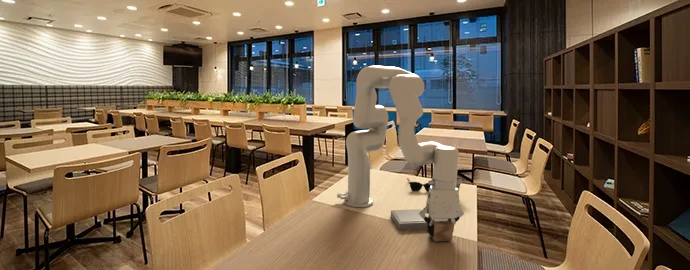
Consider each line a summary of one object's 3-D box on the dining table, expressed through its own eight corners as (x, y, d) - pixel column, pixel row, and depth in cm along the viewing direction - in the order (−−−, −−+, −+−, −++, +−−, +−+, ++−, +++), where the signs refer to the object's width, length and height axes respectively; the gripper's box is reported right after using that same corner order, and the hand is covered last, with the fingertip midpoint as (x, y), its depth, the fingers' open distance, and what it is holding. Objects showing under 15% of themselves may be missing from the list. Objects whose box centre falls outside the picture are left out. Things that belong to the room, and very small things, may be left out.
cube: (434, 241, 108) (436, 224, 107) (427, 232, 114) (429, 216, 112) (452, 240, 108) (453, 223, 107) (444, 232, 114) (445, 215, 113)
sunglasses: (408, 191, 159) (408, 181, 158) (406, 183, 175) (406, 174, 174) (437, 193, 157) (438, 183, 157) (432, 184, 173) (432, 175, 173)
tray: (399, 230, 117) (399, 223, 116) (390, 216, 129) (390, 209, 128) (431, 228, 119) (432, 221, 118) (419, 215, 130) (420, 208, 130)
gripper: (423, 188, 103) (419, 241, 106) (474, 187, 105) (469, 238, 108) (414, 180, 110) (411, 230, 113) (463, 179, 112) (458, 228, 116)
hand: (439, 234), depth 111 cm, fingers closed on cube, 6 cm apart
